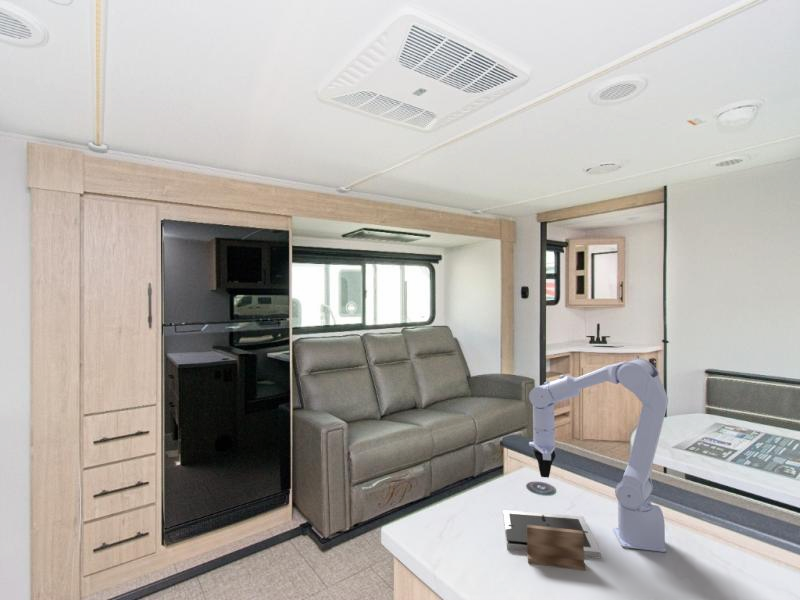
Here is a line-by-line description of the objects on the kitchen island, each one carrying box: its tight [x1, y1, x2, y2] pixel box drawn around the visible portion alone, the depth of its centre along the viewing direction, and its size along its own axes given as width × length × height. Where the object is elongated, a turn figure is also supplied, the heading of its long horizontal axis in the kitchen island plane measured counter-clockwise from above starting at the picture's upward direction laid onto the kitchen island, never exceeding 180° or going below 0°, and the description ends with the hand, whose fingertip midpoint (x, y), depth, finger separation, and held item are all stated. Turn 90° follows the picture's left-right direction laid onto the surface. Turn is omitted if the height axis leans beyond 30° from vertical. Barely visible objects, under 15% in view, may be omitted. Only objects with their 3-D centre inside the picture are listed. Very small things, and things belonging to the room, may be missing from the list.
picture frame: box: [502, 509, 602, 559], centre depth 103 cm, size 16×3×21 cm
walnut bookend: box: [526, 525, 587, 571], centre depth 92 cm, size 12×3×7 cm, turn 76°
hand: (544, 476), depth 116 cm, fingers closed
